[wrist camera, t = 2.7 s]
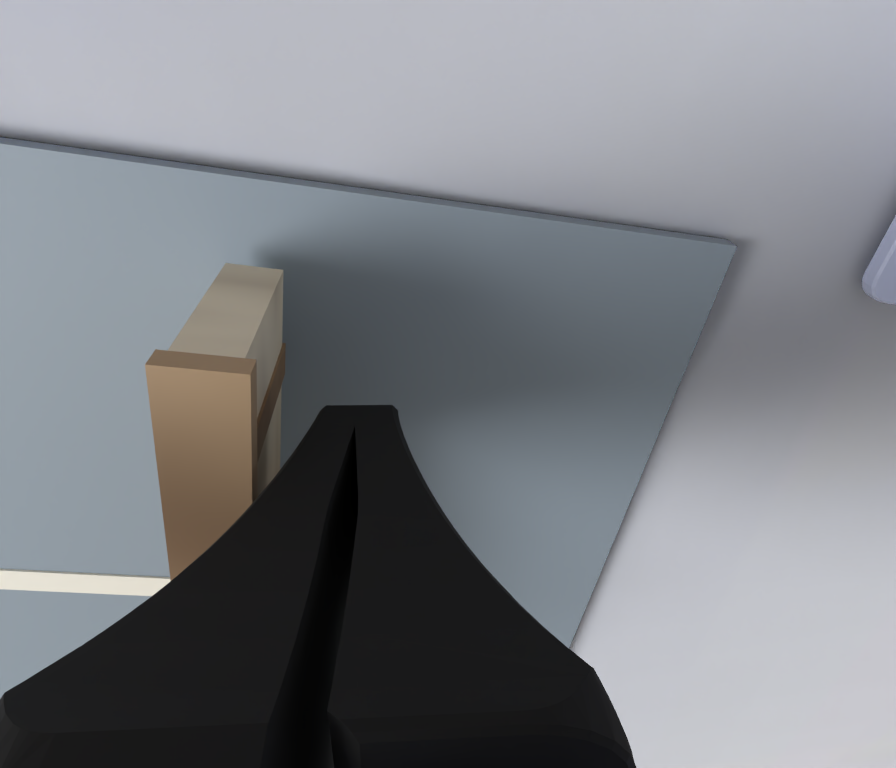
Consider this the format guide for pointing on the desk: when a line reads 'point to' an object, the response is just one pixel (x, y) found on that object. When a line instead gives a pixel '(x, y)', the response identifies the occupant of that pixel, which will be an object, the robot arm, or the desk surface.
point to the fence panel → (218, 409)
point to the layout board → (325, 366)
